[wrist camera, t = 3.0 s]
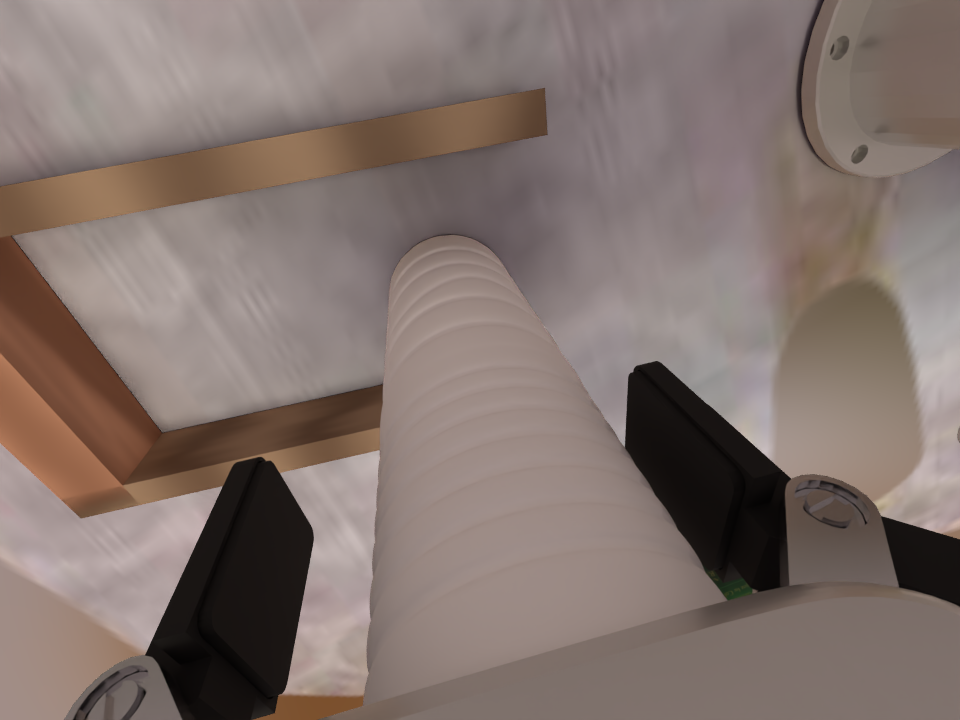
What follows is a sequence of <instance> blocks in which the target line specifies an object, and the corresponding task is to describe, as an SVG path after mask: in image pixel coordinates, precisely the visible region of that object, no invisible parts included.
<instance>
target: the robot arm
mask: <svg viewBox="0 0 960 720" xmlns="http://www.w3.org/2000/svg"><path fill="white" fill-rule="evenodd" d="M801 96H802V117H803V121H804V125H805V128H806V132H807V136H808V139H809V141H810V142H811V144H812V146H813V148H814V150H815V152H816V153H817V155H818V156H819V157H820V158H821V159H822V160H823V161H824V162H825V163H826V164H827V165H828V166H830V167H832V168H834V169H836V170H838V171H840V172H842V173H845V174H851V175H857V176H862V177H881V178H885V177H890V176H895V175H900V174H905V173H908V172H910V171H913V170H915V169H918V168H920V167H923V166H925V165H928V164H929V163H931V162H933V161H934V160H936V159H938V158H940V157H941V156H943V155H945V154H947V153H948V152H950V151H951V150H953V149H958V150H960V0H824V2H823V5H822V7H821V10H820V13H819V15H818V18H817V20H816V23H815V25H814V28H813V31H812V35H811V39H810V43H809V47H808V51H807V54H806V58H805V63H804V72H803V80H802V89H801ZM625 449H626V450H627V452H628V453H629V455H630V456H631V458H632V460H633V461H634V463H635V465H636V467H637V468H638V469H639V470H640V472H641V473H642V474H643V476H644V477H645V478H646V480H647V481H648V483H649V485H650V486H651V488H652V490H653V492H654V494H655V496H656V497H657V498H658V499H659V500H660V502H661V503H662V504H663V506H664V507H665V508H666V510H667V511H668V513H669V514H670V516H671V517H672V519H673V521H674V523H675V525H676V527H677V528H678V530H679V531H680V533H681V534H682V535H683V537H684V538H685V539H686V540H687V542H688V543H689V544H690V546H691V547H692V548H693V550H694V551H695V553H696V555H697V556H698V558H699V560H700V561H701V563H702V564H703V565H704V566H705V568H707V569H708V570H710V571H712V570H714V571H715V572H716V574H717V575H718V576H719V578H720V579H721V581H722V582H723V583H725V582H729V581H732V580H736V579H739V578H743V579H744V580H745V582H746V583H747V584H748V585H749V587H750V588H752V589H753V592H752V594H750V595H746V596H743V597H739V598H735V599H731V600H728V601H724V602H720V603H716V604H713V605H709V606H705V607H701V608H698V609H694V610H690V611H687V612H683V613H680V614H676V615H673V616H669V617H666V618H662V619H659V620H655V621H652V622H648V623H645V624H641V625H638V626H634V627H631V628H627V629H624V630H621V631H617V632H614V633H610V634H607V635H603V636H600V637H596V638H593V639H589V640H586V641H582V642H579V643H575V644H572V645H569V646H565V647H562V648H558V649H555V650H551V651H548V652H545V653H541V654H538V655H534V656H531V657H528V658H524V659H521V660H517V661H514V662H510V663H507V664H504V665H500V666H497V667H493V668H490V669H487V670H483V671H480V672H476V673H473V674H470V675H466V676H463V677H459V678H456V679H453V680H449V681H446V682H442V683H439V684H436V685H432V686H429V687H426V688H422V689H419V690H416V691H412V692H409V693H406V694H402V695H399V696H396V697H392V698H389V699H386V700H382V701H379V702H376V703H372V704H369V705H365V706H362V707H359V708H356V709H353V710H349V711H346V712H342V713H339V714H335V715H332V716H329V717H325V718H322V719H319V720H960V539H957V538H953V537H950V536H946V535H943V534H940V533H936V532H933V531H930V530H926V529H923V528H920V527H916V526H913V525H909V524H906V523H903V522H899V521H896V520H893V519H889V518H886V517H883V516H881V515H880V513H879V511H878V509H877V507H876V505H875V504H874V503H873V502H872V501H871V500H870V499H869V498H868V497H867V496H866V495H865V494H863V493H862V492H861V491H859V490H858V489H857V488H855V487H853V486H851V485H849V484H847V483H845V482H843V481H840V480H837V479H835V478H831V477H828V476H823V475H815V474H810V475H800V476H797V477H795V478H792V479H791V478H790V477H789V476H787V475H786V474H785V473H784V472H783V471H782V470H781V469H780V468H778V467H777V466H776V465H775V464H774V463H773V462H772V461H771V460H770V459H768V458H767V457H766V456H765V455H764V454H763V453H762V452H761V451H760V450H758V449H757V448H756V447H755V446H754V445H753V444H752V443H751V442H750V441H748V440H747V439H746V438H745V437H744V436H743V435H742V434H741V433H740V432H738V431H737V430H736V429H735V428H734V427H733V426H732V425H731V424H729V423H728V422H727V421H726V420H725V419H724V418H723V417H722V416H721V415H719V414H718V413H717V412H716V411H715V410H714V409H713V408H712V407H710V406H709V405H708V404H706V403H705V402H704V401H703V400H702V399H701V398H699V397H698V396H697V395H696V394H695V393H694V392H693V391H692V390H691V389H689V388H688V387H687V386H686V385H685V384H684V383H683V382H682V381H681V380H679V379H678V378H677V377H676V376H675V375H674V374H673V373H672V372H671V371H669V370H668V369H667V368H666V367H665V366H664V365H663V364H662V363H660V362H658V361H655V362H651V363H647V364H643V365H638V366H636V367H635V368H634V372H633V373H630V374H629V377H628V395H627V416H626V437H625ZM313 541H314V535H313V530H312V527H311V525H310V523H309V522H308V520H307V518H306V517H305V515H304V513H303V512H302V510H301V508H300V507H299V505H298V503H297V501H296V500H295V498H294V496H293V495H292V493H291V491H290V490H289V488H288V486H287V485H286V483H285V481H284V480H283V478H282V476H281V475H280V473H279V471H278V470H277V468H276V466H275V464H274V463H273V462H272V461H266V460H265V459H264V458H262V457H256V458H252V459H248V460H244V461H239V462H236V463H235V464H234V465H233V466H232V468H231V470H230V472H229V474H228V477H227V479H226V481H225V483H224V485H223V487H222V490H221V492H220V494H219V496H218V498H217V500H216V503H215V505H214V507H213V509H212V511H211V513H210V516H209V518H208V520H207V522H206V524H205V526H204V529H203V531H202V533H201V535H200V537H199V539H198V542H197V544H196V546H195V548H194V550H193V552H192V555H191V557H190V559H189V561H188V563H187V565H186V567H185V570H184V572H183V574H182V576H181V578H180V580H179V583H178V585H177V587H176V589H175V591H174V593H173V596H172V598H171V600H170V602H169V604H168V606H167V609H166V611H165V613H164V615H163V617H162V619H161V622H160V624H159V626H158V628H157V630H156V632H155V635H154V637H153V639H152V641H151V644H150V646H149V648H148V650H147V652H146V654H145V655H141V656H135V657H131V658H128V659H126V660H124V661H122V662H120V663H118V664H116V665H114V666H113V667H112V668H110V669H109V670H107V671H106V672H104V673H103V674H101V675H100V676H99V677H98V678H97V679H96V680H95V681H94V682H93V683H92V684H91V685H90V686H89V687H87V688H86V690H85V691H84V692H83V693H82V694H81V696H80V697H79V698H78V700H76V702H75V703H74V704H73V706H72V707H71V709H70V711H69V712H68V714H67V716H66V717H65V719H64V720H253V719H256V718H259V717H263V716H267V715H270V714H273V713H275V709H276V704H277V699H278V695H279V694H282V693H283V692H284V690H285V688H286V685H287V681H288V676H289V671H290V665H291V660H292V654H293V649H294V644H295V638H296V633H297V628H298V622H299V617H300V611H301V606H302V601H303V595H304V590H305V585H306V579H307V574H308V568H309V563H310V558H311V552H312V547H313Z"/></svg>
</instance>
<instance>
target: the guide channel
mask: <svg viewBox="0 0 960 720" xmlns="http://www.w3.org/2000/svg"><path fill="white" fill-rule="evenodd" d="M544 135H547V119H546V101H545V88H542V89H537V90H531V91H526V92H520V93H515V94H509V95H504V96H498V97H492V98H487V99H481V100H476V101H470V102H465V103H459V104H454V105H448V106H443V107H437V108H432V109H426V110H421V111H415V112H410V113H404V114H399V115H393V116H387V117H382V118H376V119H371V120H365V121H360V122H354V123H349V124H343V125H338V126H332V127H327V128H321V129H316V130H310V131H305V132H299V133H293V134H288V135H282V136H277V137H271V138H266V139H260V140H255V141H249V142H244V143H238V144H233V145H227V146H222V147H216V148H211V149H205V150H200V151H194V152H188V153H183V154H177V155H172V156H166V157H161V158H155V159H150V160H144V161H139V162H133V163H128V164H122V165H117V166H111V167H106V168H100V169H95V170H89V171H83V172H78V173H72V174H67V175H61V176H56V177H50V178H45V179H39V180H34V181H28V182H23V183H17V184H12V185H6V186H1V187H0V443H1V444H2V445H3V446H4V447H5V448H6V449H7V450H8V451H9V452H10V453H12V454H13V455H14V456H15V457H16V458H17V459H18V460H19V461H20V462H21V463H22V464H23V465H24V466H25V467H27V468H28V469H29V470H30V471H31V472H32V473H33V474H34V475H35V476H36V477H37V478H38V479H39V480H40V481H42V482H43V483H44V484H45V485H46V486H47V487H48V488H49V489H50V490H51V491H52V492H53V493H54V494H55V495H56V496H58V497H59V498H60V499H61V500H62V501H63V502H64V503H65V504H66V505H67V506H68V507H69V508H70V509H71V510H73V511H74V512H75V513H76V514H77V515H78V516H79V517H80V518H85V517H89V516H94V515H98V514H102V513H107V512H111V511H115V510H120V509H124V508H129V507H133V506H137V505H142V504H146V503H150V502H155V501H159V500H163V499H168V498H172V497H176V496H181V495H185V494H190V493H194V492H198V491H203V490H207V489H211V488H216V487H220V486H223V485H224V483H225V481H226V479H227V477H228V474H229V472H230V470H231V468H232V466H233V465H234V464H235V463H236V462H239V461H244V460H248V459H252V458H256V457H262V458H264V459H265V460H266V461H272V462H273V463H274V464H275V466H276V468H277V470H278V471H279V473H281V472H285V471H290V470H294V469H298V468H303V467H307V466H312V465H316V464H320V463H325V462H329V461H333V460H338V459H342V458H346V457H351V456H355V455H359V454H364V453H368V452H373V451H377V450H380V420H381V411H382V405H383V385H379V386H375V387H370V388H365V389H361V390H356V391H352V392H347V393H343V394H338V395H334V396H329V397H325V398H320V399H315V400H311V401H306V402H302V403H297V404H293V405H288V406H284V407H279V408H275V409H270V410H265V411H261V412H256V413H252V414H247V415H243V416H238V417H234V418H229V419H225V420H220V421H215V422H211V423H206V424H202V425H197V426H193V427H188V428H184V429H179V430H175V431H170V432H165V433H161V431H160V430H159V429H158V428H157V426H156V425H155V424H154V422H153V421H152V420H151V418H150V417H149V416H148V414H147V413H146V412H145V411H144V409H143V408H142V407H141V405H140V404H139V403H138V401H137V400H136V399H135V397H134V396H133V395H132V394H131V392H130V391H129V390H128V388H127V387H126V386H125V384H124V383H123V382H122V381H121V379H120V378H119V377H118V375H117V374H116V373H115V371H114V370H113V369H112V367H111V366H110V365H109V364H108V362H107V361H106V360H105V358H104V357H103V356H102V354H101V353H100V352H99V351H98V349H97V348H96V347H95V345H94V344H93V343H92V341H91V340H90V339H89V337H88V336H87V335H86V334H85V332H84V331H83V330H82V328H81V327H80V326H79V324H78V323H77V322H76V321H75V319H74V318H73V317H72V315H71V314H70V313H69V311H68V310H67V309H66V307H65V306H64V305H63V304H62V302H61V301H60V300H59V298H58V297H57V296H56V294H55V293H54V292H53V290H52V289H51V288H50V287H49V285H48V284H47V283H46V281H45V280H44V279H43V277H42V276H41V275H40V274H39V272H38V271H37V270H36V268H35V267H34V266H33V264H32V263H31V262H30V260H29V259H28V258H27V257H26V255H25V254H24V253H23V251H22V250H21V249H20V247H19V246H18V245H17V244H16V242H15V241H14V240H13V238H12V237H11V236H12V235H17V234H22V233H28V232H33V231H38V230H44V229H49V228H54V227H60V226H65V225H70V224H76V223H81V222H86V221H91V220H97V219H102V218H107V217H113V216H118V215H123V214H129V213H134V212H139V211H145V210H150V209H155V208H161V207H166V206H171V205H177V204H182V203H187V202H193V201H198V200H203V199H208V198H214V197H219V196H224V195H230V194H235V193H240V192H246V191H251V190H256V189H262V188H267V187H272V186H278V185H283V184H288V183H294V182H299V181H304V180H310V179H315V178H320V177H325V176H331V175H336V174H341V173H347V172H352V171H357V170H363V169H368V168H373V167H379V166H384V165H389V164H395V163H400V162H405V161H411V160H416V159H421V158H427V157H432V156H437V155H443V154H448V153H453V152H458V151H464V150H469V149H474V148H480V147H485V146H490V145H496V144H501V143H506V142H512V141H517V140H522V139H528V138H533V137H538V136H544Z"/></svg>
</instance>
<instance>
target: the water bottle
mask: <svg viewBox="0 0 960 720" xmlns="http://www.w3.org/2000/svg"><path fill="white" fill-rule="evenodd" d="M372 569H373V580H372V585H371V592H370V617H371V622H370V626H369V631H368V639H367V667H368V672H369V674H368V678H367V682H366V687H365V693H364V701H363V706H365V705H369V704H372V703H376V702H379V701H382V700H386V699H389V698H392V697H396V696H399V695H402V694H406V693H409V692H412V691H416V690H419V689H422V688H426V687H429V686H432V685H436V684H439V683H442V682H446V681H449V680H453V679H456V678H459V677H463V676H466V675H470V674H473V673H476V672H480V671H483V670H487V669H490V668H493V667H497V666H500V665H504V664H507V663H510V662H514V661H517V660H521V659H524V658H528V657H531V656H534V655H538V654H541V653H545V652H548V651H551V650H555V649H558V648H562V647H565V646H569V645H572V644H575V643H579V642H582V641H586V640H589V639H593V638H596V637H600V636H603V635H607V634H610V633H614V632H617V631H621V630H624V629H627V628H631V627H634V626H638V625H641V624H645V623H648V622H652V621H655V620H659V619H662V618H666V617H669V616H673V615H676V614H680V613H683V612H687V611H690V610H694V609H698V608H701V607H705V606H709V605H713V604H716V603H720V602H724V601H728V600H727V599H726V598H725V596H724V595H723V593H722V592H721V591H720V590H719V588H718V587H717V586H716V585H715V583H714V582H713V581H712V580H711V579H710V578H709V576H708V575H707V574H706V573H705V570H704V568H703V566H702V563H701V561H700V560H699V558H698V556H697V555H696V553H695V551H694V550H693V548H692V547H691V546H690V544H689V543H688V542H687V540H686V539H685V538H684V537H683V535H682V534H681V533H680V532H679V531H678V529H677V527H676V525H675V523H674V521H673V519H672V517H671V516H670V514H669V513H668V511H667V510H666V508H665V507H664V506H663V504H662V503H661V502H660V500H659V499H658V498H657V497H656V496H655V494H654V492H653V490H652V488H651V486H650V485H649V483H648V481H647V480H646V478H645V477H644V476H643V474H642V473H641V472H640V470H639V469H638V468H637V467H636V465H635V463H634V461H633V460H632V458H631V456H630V455H629V453H628V452H627V450H626V449H625V447H624V446H623V445H622V444H621V442H620V441H619V439H618V438H617V436H616V434H615V432H614V431H613V429H612V428H611V426H610V425H609V424H608V422H607V421H606V420H605V419H604V417H603V415H602V413H601V411H600V410H599V408H598V407H597V406H596V404H595V403H594V402H593V400H592V399H591V397H590V396H589V394H588V392H587V390H586V389H585V387H584V386H583V384H582V382H581V380H580V378H579V377H578V375H577V374H576V372H575V371H574V369H573V368H572V366H571V365H570V363H569V362H568V361H567V359H566V358H565V357H564V356H563V354H562V353H561V351H560V350H559V348H558V346H557V344H556V343H555V341H554V340H553V338H552V337H551V335H550V334H549V333H548V331H547V330H546V329H545V328H544V326H543V324H542V322H541V321H540V319H539V318H538V316H537V315H536V313H535V312H534V311H533V309H532V308H531V306H530V305H529V303H528V301H527V300H526V298H525V297H524V296H523V294H522V293H521V292H520V290H519V289H518V287H517V285H516V284H515V282H514V281H513V279H512V278H511V277H510V275H509V273H508V272H507V270H506V268H505V267H504V265H503V264H502V263H501V261H500V260H499V258H498V257H497V256H496V255H495V254H494V253H493V252H492V251H491V250H490V249H489V248H488V247H486V246H484V245H483V244H481V243H480V242H478V241H476V240H474V239H471V238H468V237H464V236H459V235H447V236H436V237H433V238H430V239H427V240H425V241H423V242H421V243H419V244H417V245H416V246H414V247H413V248H412V249H411V250H410V251H409V252H408V253H406V254H405V255H404V256H403V257H402V259H401V260H400V261H399V263H398V265H397V266H396V268H395V270H394V273H393V275H392V278H391V282H390V288H389V309H388V326H387V334H386V352H385V372H384V380H383V405H382V411H381V420H380V461H379V469H378V488H377V511H376V518H375V544H374V549H373V561H372Z"/></svg>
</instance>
